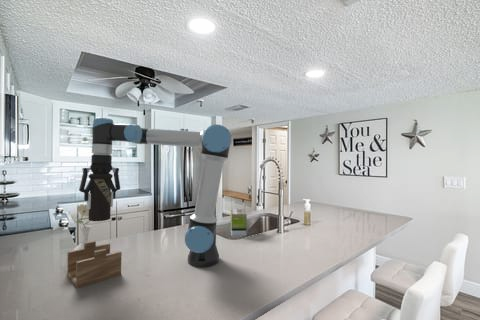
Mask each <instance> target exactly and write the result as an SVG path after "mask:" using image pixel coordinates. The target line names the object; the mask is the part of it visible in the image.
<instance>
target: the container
mask: <svg viewBox="0 0 480 320" xmlns="http://www.w3.org/2000/svg"><path fill="white" fill-rule="evenodd" d="M88 178H89V181H90V180H92V187H91V189H90V191H89V193H91V205H90V209H89V216H88V221H90V222H103V221H108V220H111V214H112V213H111V211H112V210H111V209H112V207H111V191H112V190H111V179H112V178H114V174H111V173H109V174H106V173H99V174H93V173H90V174H89V175H88Z"/></svg>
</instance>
